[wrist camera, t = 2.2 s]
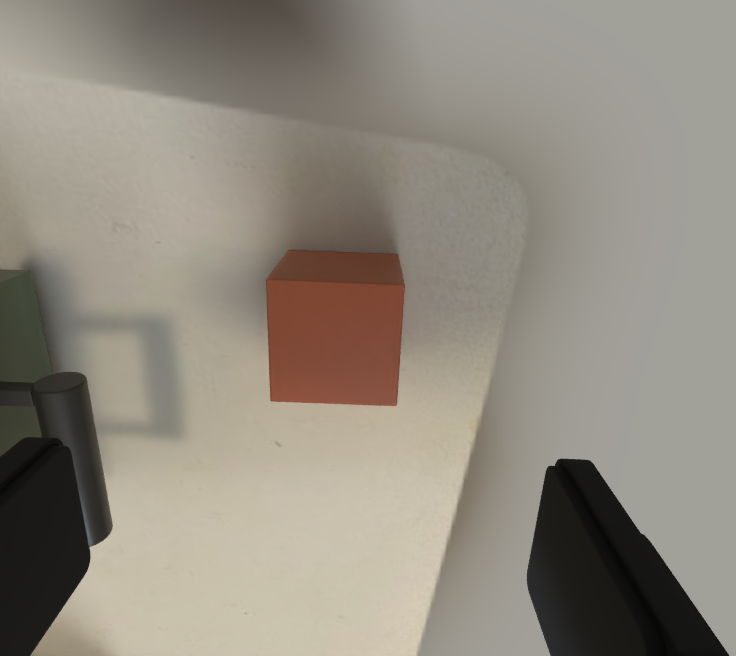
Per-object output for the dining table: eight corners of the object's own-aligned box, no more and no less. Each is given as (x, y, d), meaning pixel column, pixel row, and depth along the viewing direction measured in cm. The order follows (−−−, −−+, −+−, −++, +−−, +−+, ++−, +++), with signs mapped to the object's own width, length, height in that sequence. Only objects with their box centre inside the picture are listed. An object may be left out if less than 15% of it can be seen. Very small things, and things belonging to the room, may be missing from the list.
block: (287, 249, 20) (265, 278, 16) (398, 254, 20) (404, 284, 16) (289, 351, 22) (270, 401, 18) (392, 355, 22) (396, 406, 18)
